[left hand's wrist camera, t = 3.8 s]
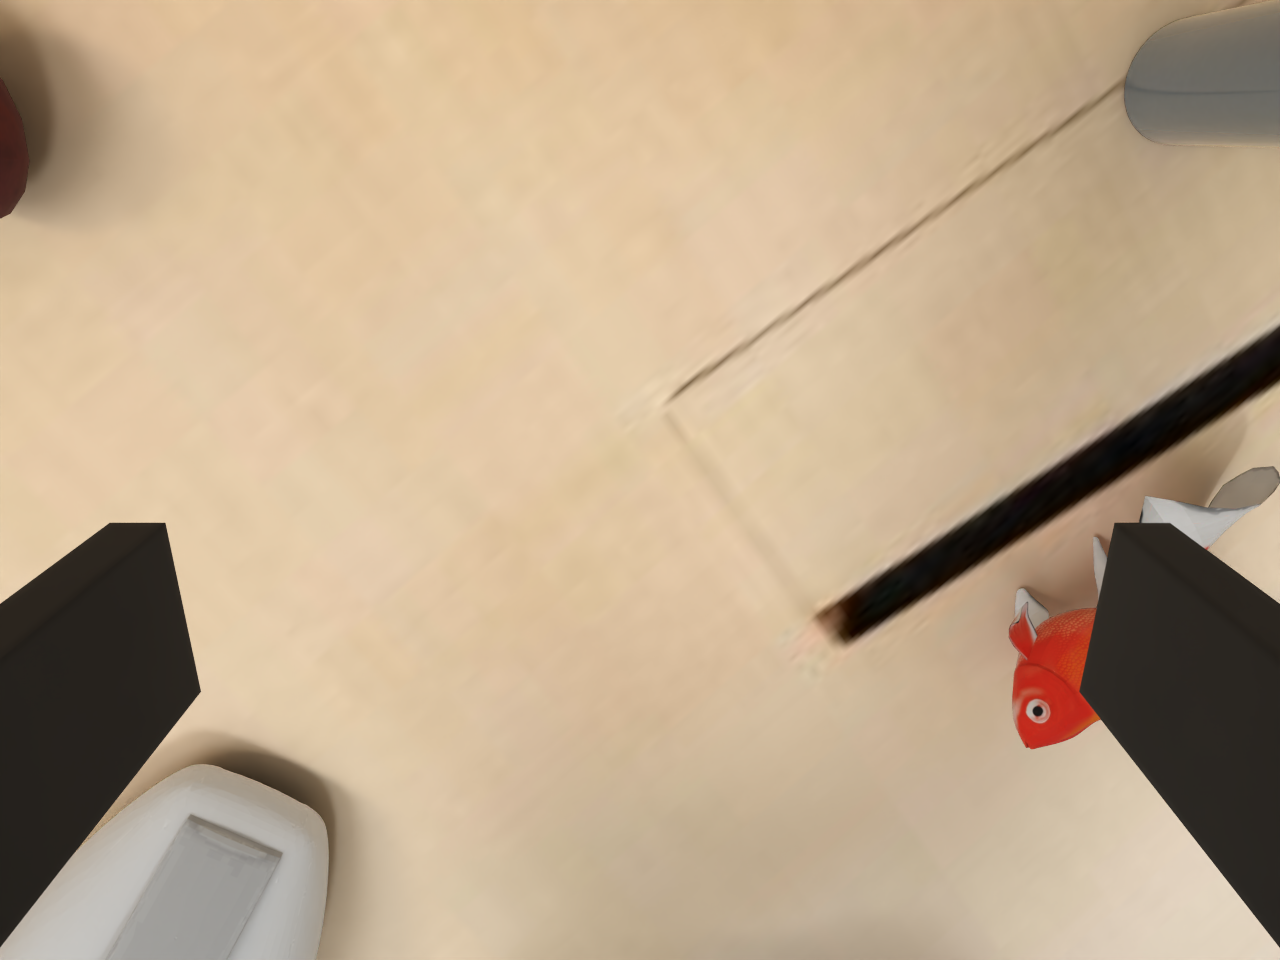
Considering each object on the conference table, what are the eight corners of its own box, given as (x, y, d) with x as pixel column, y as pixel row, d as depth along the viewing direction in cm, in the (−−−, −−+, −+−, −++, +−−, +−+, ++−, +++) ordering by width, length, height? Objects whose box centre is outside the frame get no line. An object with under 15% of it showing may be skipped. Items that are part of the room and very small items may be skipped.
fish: (909, 580, 39) (1127, 716, 31) (1141, 369, 42) (1388, 445, 34) (949, 714, 45) (1138, 853, 38) (1147, 522, 49) (1356, 614, 41)
